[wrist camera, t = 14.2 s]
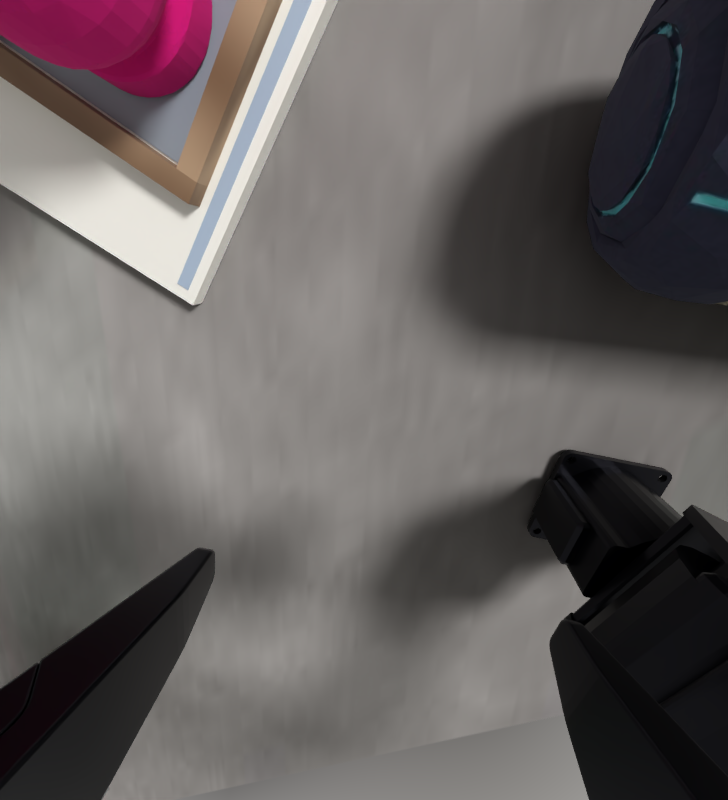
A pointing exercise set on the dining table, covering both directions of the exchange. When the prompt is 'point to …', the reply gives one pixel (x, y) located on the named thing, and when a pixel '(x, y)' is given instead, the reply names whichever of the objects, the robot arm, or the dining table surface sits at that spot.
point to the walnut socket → (210, 121)
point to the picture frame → (166, 133)
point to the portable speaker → (667, 157)
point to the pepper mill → (115, 38)
